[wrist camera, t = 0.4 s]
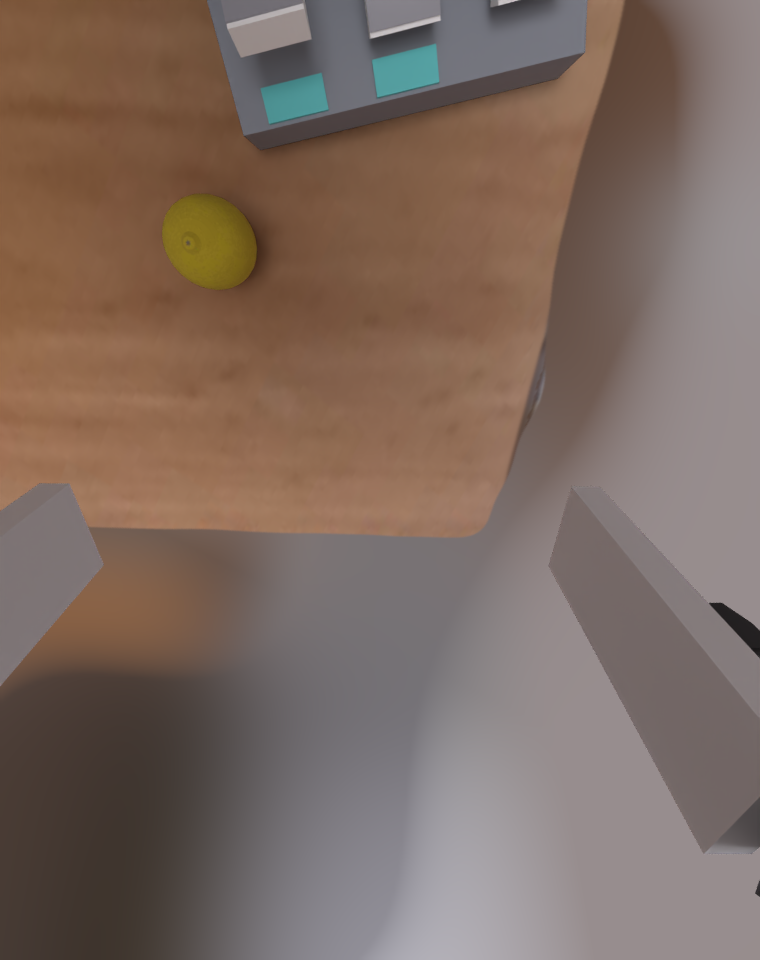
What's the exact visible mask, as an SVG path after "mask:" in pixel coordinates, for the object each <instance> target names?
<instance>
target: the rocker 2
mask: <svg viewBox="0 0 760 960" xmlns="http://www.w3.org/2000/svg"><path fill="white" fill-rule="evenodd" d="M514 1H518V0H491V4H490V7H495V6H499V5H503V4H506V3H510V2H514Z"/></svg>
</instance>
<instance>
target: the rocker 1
mask: <svg viewBox="0 0 760 960" xmlns="http://www.w3.org/2000/svg"><path fill="white" fill-rule="evenodd" d="M221 3H222V8H223V13H224V17H225V22H226V24H227V29H228V31H229V33H230V36H231V38H232V40H233V42H234V44H235V46H236V48H237V50H238V52H239V55H240V57H241V58H242V57H246V56H250V55H253V54H257V53H261V52H265V51H269V50H272V49H276V48H280V47H284V46H288V45H291V44H295V43H299V42H303V41H307V40H310V39H312V38H311V32H310V27H309V21H308V15H307V10H306V4H305V0H221Z"/></svg>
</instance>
